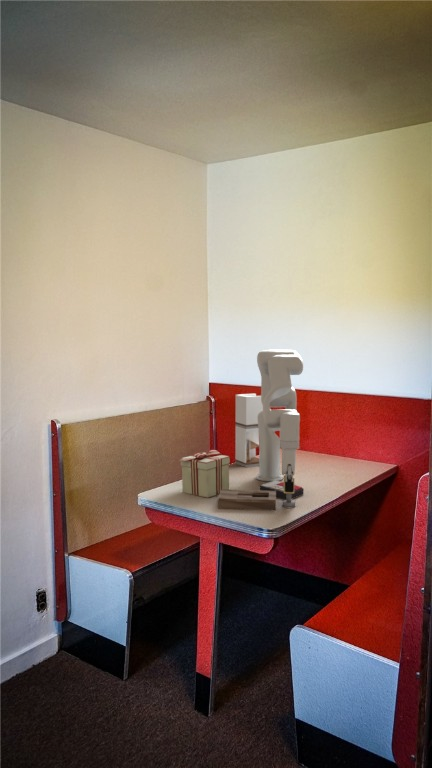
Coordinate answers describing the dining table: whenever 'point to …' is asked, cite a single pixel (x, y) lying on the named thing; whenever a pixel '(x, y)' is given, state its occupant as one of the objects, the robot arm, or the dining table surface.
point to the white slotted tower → (247, 429)
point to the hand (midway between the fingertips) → (288, 488)
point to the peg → (288, 496)
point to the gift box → (205, 473)
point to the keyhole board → (247, 499)
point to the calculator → (281, 489)
